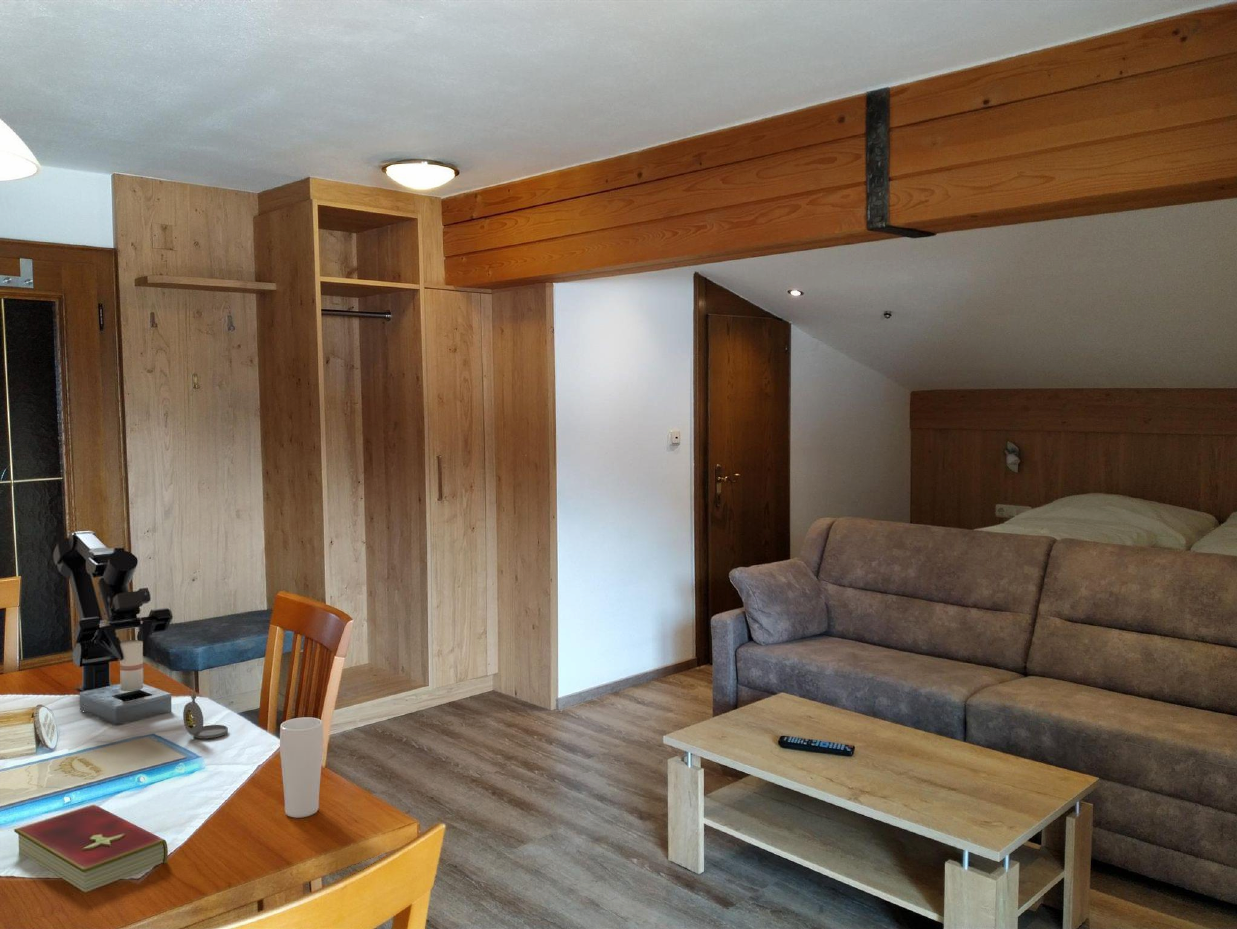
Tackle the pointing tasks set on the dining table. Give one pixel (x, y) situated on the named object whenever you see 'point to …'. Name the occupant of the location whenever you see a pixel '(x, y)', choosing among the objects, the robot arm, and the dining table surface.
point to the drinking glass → (301, 764)
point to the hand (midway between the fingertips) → (133, 657)
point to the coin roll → (131, 665)
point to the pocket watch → (200, 722)
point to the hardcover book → (91, 847)
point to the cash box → (125, 703)
